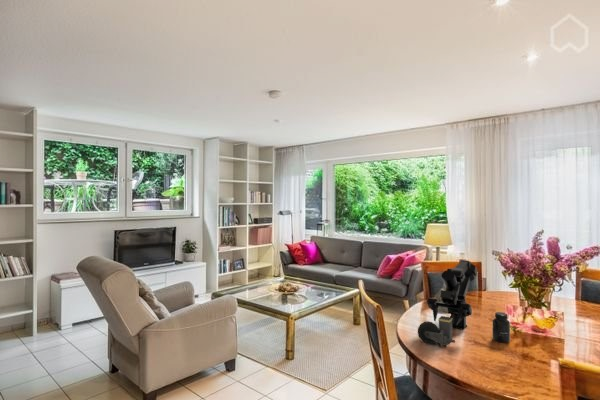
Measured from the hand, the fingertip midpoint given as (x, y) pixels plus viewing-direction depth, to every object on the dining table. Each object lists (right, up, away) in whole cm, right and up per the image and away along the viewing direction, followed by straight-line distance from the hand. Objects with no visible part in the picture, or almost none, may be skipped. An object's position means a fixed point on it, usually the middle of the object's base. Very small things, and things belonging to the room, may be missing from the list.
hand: (445, 322), depth 158 cm
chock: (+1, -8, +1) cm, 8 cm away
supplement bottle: (+25, -8, 0) cm, 26 cm away
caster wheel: (-5, -8, -3) cm, 10 cm away
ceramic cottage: (+20, -8, +49) cm, 54 cm away
